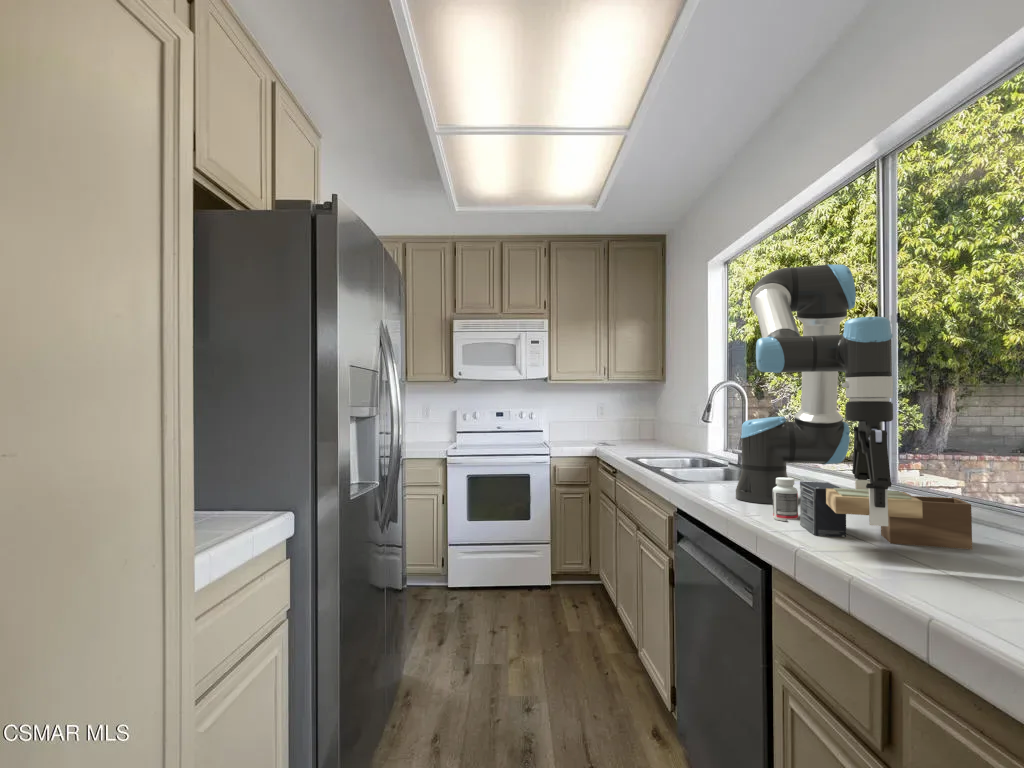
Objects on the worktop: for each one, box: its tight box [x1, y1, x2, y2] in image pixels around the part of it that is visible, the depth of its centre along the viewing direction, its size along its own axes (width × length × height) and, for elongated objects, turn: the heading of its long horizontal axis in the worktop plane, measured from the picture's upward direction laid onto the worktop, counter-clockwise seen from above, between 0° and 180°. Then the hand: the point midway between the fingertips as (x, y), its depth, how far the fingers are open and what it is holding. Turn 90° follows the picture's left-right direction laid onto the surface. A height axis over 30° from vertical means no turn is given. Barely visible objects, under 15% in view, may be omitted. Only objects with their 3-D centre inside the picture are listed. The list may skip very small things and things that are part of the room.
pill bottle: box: [772, 477, 799, 522], centre depth 135 cm, size 5×5×10 cm
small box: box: [799, 480, 847, 538], centre depth 121 cm, size 11×6×10 cm, turn 168°
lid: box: [826, 487, 923, 519], centre depth 105 cm, size 10×13×3 cm
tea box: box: [880, 495, 973, 550], centre depth 111 cm, size 7×13×9 cm, turn 69°
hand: (871, 519), depth 105 cm, fingers closed on lid, 10 cm apart
